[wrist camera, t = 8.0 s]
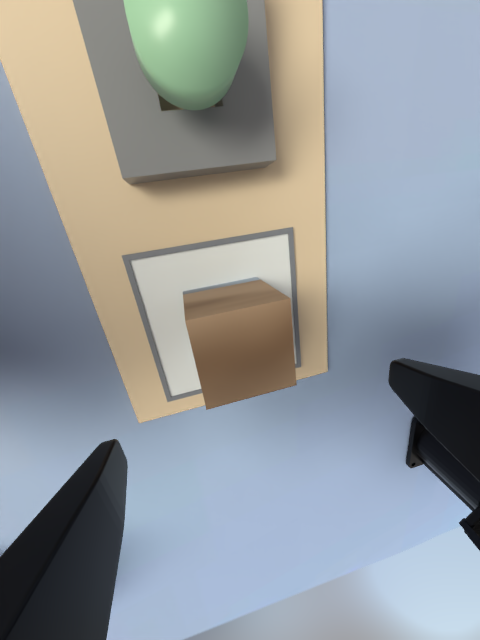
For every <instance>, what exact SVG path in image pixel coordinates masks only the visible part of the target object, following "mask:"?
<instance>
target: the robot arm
mask: <svg viewBox="0 0 480 640" xmlns="http://www.w3.org/2000/svg"><path fill="white" fill-rule="evenodd" d="M389 385H390V387H391V388H392V390H393V391H394V392H395V393H396V394H397V395H398V397H399V398H400V399H401V400H402V401H403V402H404V404H405V405H406V406H407V407H408V408H409V410H410V411H411V412H412V413H413V414H414V415H415V418H414V419H413V420H412V425H411V432H410V439H409V446H408V453H407V459H406V464H407V465H408V466H409V467H410V468H414V467H417V466H420V465H422V464H424V465H425V466H426V467H427V468H428V469H429V470H430V471H431V472H432V473H434V474H435V475H436V476H437V477H438V478H439V479H440V480H441V481H442V482H443V483H444V484H445V485H446V486H447V487H448V488H449V489H450V490H451V491H452V492H453V493H454V494H455V495H456V496H457V497H458V498H459V499H461V500H462V501H463V502H464V503H465V504H466V505H467V506H468V507H469V508H470V509H471V510H472V511H473V512H472V513H471V514H470V515H469V516H468V517H467V518H466V519H465V518H463V519H462V520H461V521H460V522H459V524H460V525H461V526H462V527H463V528H464V530H465V531H464V532H465V533H466V534H467V535H468V537H469V538H470V539H471V540H472V542H473V543H474V544H475V545H476V547H477V548H478V549H479V550H480V375H477V374H472V373H468V372H463V371H459V370H454V369H450V368H445V367H441V366H437V365H432V364H428V363H423V362H419V361H414V360H410V359H405V358H401V359H397V360H394V361H392V362H391V364H390V370H389ZM127 468H128V466H127V459H126V457H125V454H124V452H123V450H122V448H121V445H120V443H119V441H118V440H117V439H113V440H109V441H105V442H103V443H101V444H100V445H99V446H98V447H97V448H96V449H95V450H94V451H93V452H92V454H91V455H90V456H89V457H88V458H87V459H86V460H85V461H84V463H83V464H82V465H81V466H80V467H79V468H78V469H77V471H76V472H75V473H74V474H73V475H72V476H71V477H70V478H69V480H68V481H67V482H66V483H65V484H64V485H63V486H62V488H61V489H60V490H59V491H58V492H57V493H56V494H55V495H54V497H53V498H52V499H51V500H50V501H49V502H48V503H47V505H46V506H45V507H44V508H43V509H42V510H41V511H40V512H39V514H38V515H37V516H36V517H35V518H34V519H33V520H32V522H31V523H30V524H29V525H28V526H27V527H26V528H25V529H24V531H23V532H22V533H21V534H20V535H19V536H18V537H17V539H16V540H15V541H14V542H13V543H12V544H11V545H10V546H9V548H8V549H7V550H6V551H5V552H4V553H3V554H2V556H1V557H0V640H106V638H107V632H108V625H109V619H110V613H111V606H112V600H113V594H114V588H115V581H116V575H117V569H118V562H119V556H120V550H121V544H122V537H123V530H124V520H125V504H126V486H127Z"/></svg>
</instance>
